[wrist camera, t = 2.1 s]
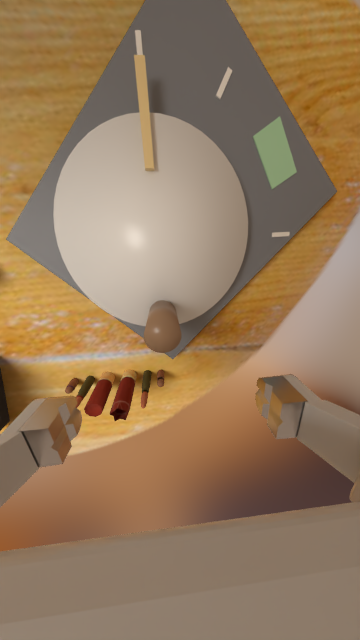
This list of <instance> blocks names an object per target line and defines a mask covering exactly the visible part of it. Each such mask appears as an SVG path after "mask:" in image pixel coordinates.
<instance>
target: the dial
mask: <svg viewBox="0 0 360 640" xmlns="http://www.w3.org/2000/svg"><path fill="white" fill-rule="evenodd" d="M134 61H135V71H136V81H137V91H138V102H139V113H129V114H125V115H122V116H118V117H114V118H112V119H110V120H108V121H106V122H104V123H102V124H100V125H99V126H97V127H96V128H94V129H93V130H92V131H90V132H89V133H88V134H87V135H86V136H85V137H84V138H83V139H82V140H81V141H80V142H79V143H78V144H77V145H76V147H75V148H74V149H73V151H72V152H71V154H70V155H69V156H68V158H67V160H66V162H65V164H64V166H63V168H62V170H61V173H60V177H59V180H58V183H57V186H56V192H55V197H54V211H53V217H54V229H55V235H56V239H57V244H58V247H59V250H60V253H61V256H62V259H63V261H64V263H65V265H66V267H67V270H68V271H69V273H70V275H71V276H72V278H73V279H74V281H75V283H76V284H77V285H78V286H79V288H80V289H81V290H82V291H83V293H84V294H85V295H86V296H87V297H88V298H89V299H90V300H91V301H92V302H94V303H95V304H96V305H97V306H99V307H100V308H101V309H103V310H104V311H106V312H107V313H109V314H111V315H112V316H114V317H116V318H119V319H121V320H123V321H126V322H129V323H132V324H136V325H141V326H146V327H145V331H144V341H145V343H146V345H147V346H148V347H149V348H150V349H151V350H153V351H155V352H159V353H166V352H169V351H172V350H174V349H175V348H176V347H177V346H178V345H179V343H180V341H181V330H180V326H179V324H181V323H185V322H187V321H190V320H192V319H194V318H196V317H198V316H200V315H202V314H203V313H205V312H206V311H207V310H209V309H210V308H212V307H213V306H214V305H215V304H216V303H217V302H218V301H219V300H220V299H221V298H222V297H223V296H224V295H225V293H226V292H227V291H228V289H229V288H230V286H231V285H232V283H233V282H234V280H235V278H236V276H237V274H238V272H239V270H240V267H241V264H242V262H243V259H244V255H245V251H246V245H247V238H248V215H247V206H246V202H245V197H244V193H243V190H242V187H241V184H240V181H239V179H238V177H237V175H236V173H235V171H234V169H233V167H232V165H231V164H230V162H229V161H228V159H227V158H226V156H225V155H224V153H223V152H222V151H221V150H220V149H219V147H218V146H217V145H216V144H215V143H214V142H213V141H212V140H211V139H210V138H209V137H207V136H206V135H205V134H204V133H203V132H202V131H200V130H198V129H197V128H195V127H194V126H192V125H191V124H189V123H187V122H185V121H182V120H180V119H178V118H176V117H172V116H168V115H164V114H161V113H150V112H149V100H148V88H147V76H146V63H145V55H134Z"/></svg>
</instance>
